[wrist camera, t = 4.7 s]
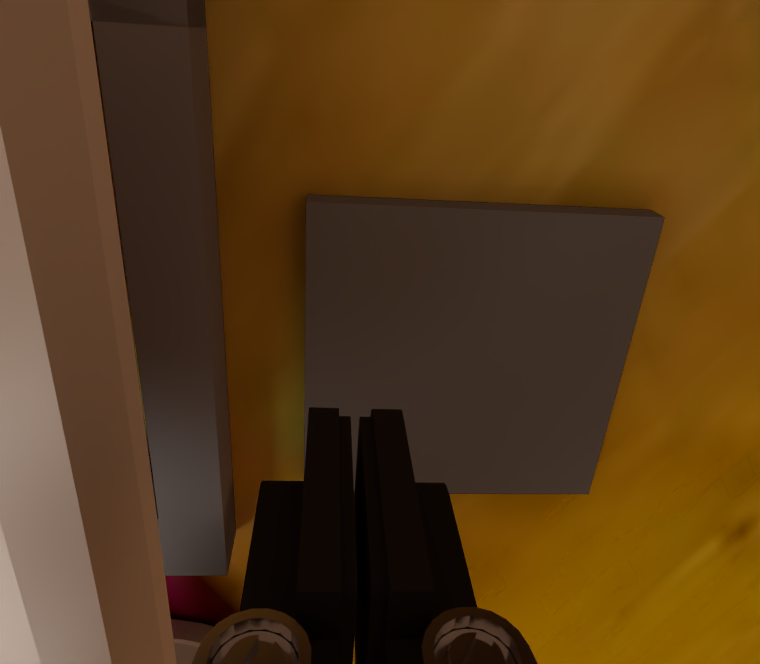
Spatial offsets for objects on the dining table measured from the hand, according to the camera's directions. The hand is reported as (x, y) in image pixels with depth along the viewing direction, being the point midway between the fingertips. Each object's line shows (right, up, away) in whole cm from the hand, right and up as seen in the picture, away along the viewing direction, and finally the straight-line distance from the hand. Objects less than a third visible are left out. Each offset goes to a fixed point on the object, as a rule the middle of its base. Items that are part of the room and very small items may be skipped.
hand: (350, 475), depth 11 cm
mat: (+3, +2, +8) cm, 9 cm away
